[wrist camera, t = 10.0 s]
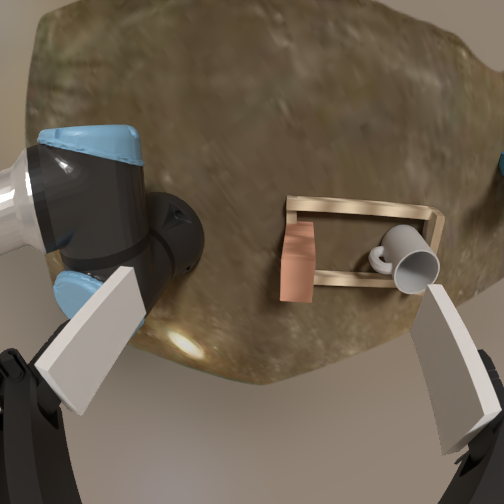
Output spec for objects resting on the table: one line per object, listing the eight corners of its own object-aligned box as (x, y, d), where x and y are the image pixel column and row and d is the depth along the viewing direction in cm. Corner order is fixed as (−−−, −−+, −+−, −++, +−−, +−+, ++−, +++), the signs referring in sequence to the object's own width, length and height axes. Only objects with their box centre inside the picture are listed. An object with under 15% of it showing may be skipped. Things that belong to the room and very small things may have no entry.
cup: (417, 261, 43) (435, 291, 35) (363, 266, 45) (373, 298, 38) (421, 222, 40) (443, 247, 32) (363, 225, 42) (376, 253, 34)
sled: (285, 276, 49) (279, 324, 38) (287, 195, 42) (282, 227, 32) (417, 281, 45) (438, 326, 34) (435, 207, 38) (469, 240, 28)
